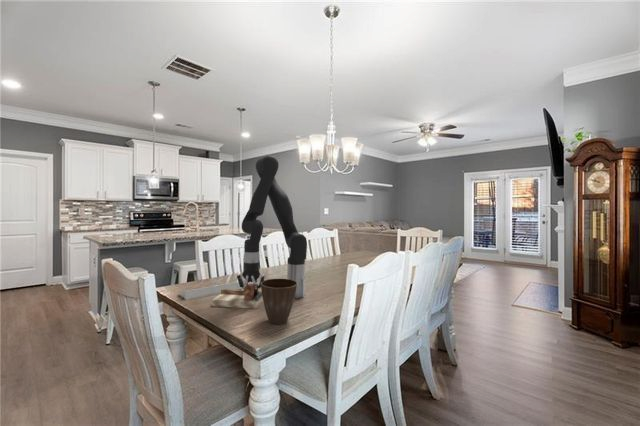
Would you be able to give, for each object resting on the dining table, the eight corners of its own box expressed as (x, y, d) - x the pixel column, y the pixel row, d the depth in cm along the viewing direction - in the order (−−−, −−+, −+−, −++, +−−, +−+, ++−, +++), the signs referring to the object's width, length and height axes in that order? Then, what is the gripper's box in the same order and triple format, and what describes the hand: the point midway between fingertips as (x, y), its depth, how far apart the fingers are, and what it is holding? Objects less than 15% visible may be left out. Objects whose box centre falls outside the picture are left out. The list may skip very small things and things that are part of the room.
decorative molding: (179, 301, 155) (186, 300, 148) (179, 291, 156) (185, 290, 149) (240, 289, 178) (248, 288, 171) (239, 281, 179) (247, 280, 172)
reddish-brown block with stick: (257, 295, 148) (257, 283, 147) (248, 303, 136) (249, 290, 135) (249, 295, 148) (249, 283, 148) (240, 303, 136) (240, 290, 136)
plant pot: (283, 311, 135) (283, 276, 135) (303, 322, 124) (304, 283, 124) (253, 319, 125) (254, 281, 125) (272, 331, 114) (273, 290, 114)
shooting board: (262, 300, 149) (262, 291, 149) (255, 308, 138) (256, 297, 138) (222, 298, 151) (222, 288, 151) (212, 306, 140) (212, 295, 140)
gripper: (268, 260, 147) (267, 294, 147) (239, 258, 148) (239, 293, 149) (263, 263, 139) (262, 299, 140) (234, 261, 141) (233, 297, 141)
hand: (250, 296), depth 144 cm, fingers closed on reddish-brown block with stick, 4 cm apart
